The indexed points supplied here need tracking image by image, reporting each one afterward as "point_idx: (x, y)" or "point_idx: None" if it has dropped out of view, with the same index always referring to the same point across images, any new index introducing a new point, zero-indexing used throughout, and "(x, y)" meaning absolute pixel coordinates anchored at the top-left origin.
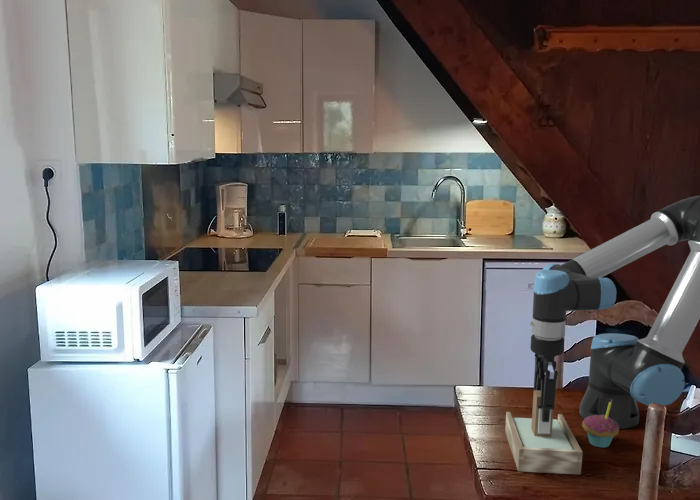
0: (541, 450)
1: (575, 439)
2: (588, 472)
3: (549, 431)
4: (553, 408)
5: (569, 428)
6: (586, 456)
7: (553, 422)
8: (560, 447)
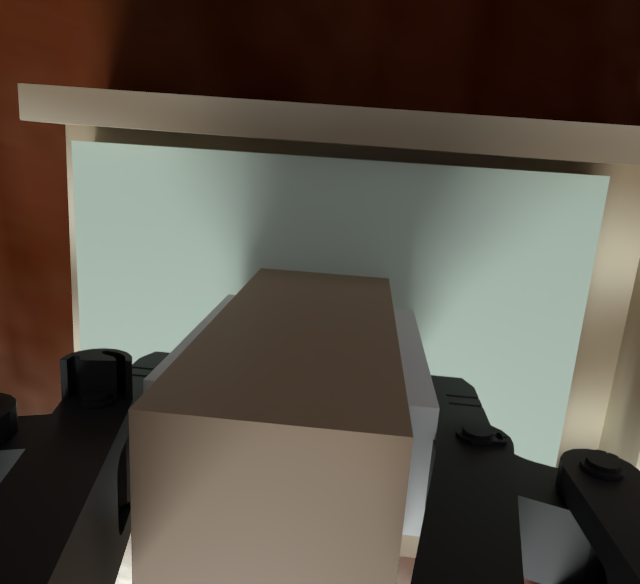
0: None
1: (516, 119)
2: (628, 76)
3: (414, 318)
4: (631, 474)
5: (303, 105)
6: (413, 14)
7: (134, 185)
8: (569, 264)
